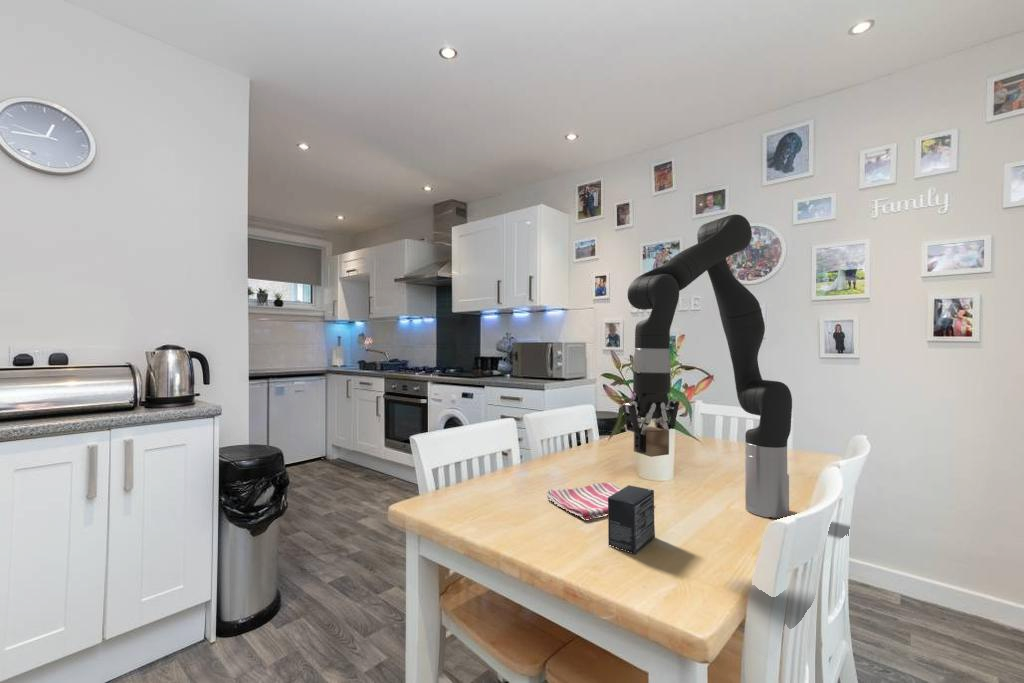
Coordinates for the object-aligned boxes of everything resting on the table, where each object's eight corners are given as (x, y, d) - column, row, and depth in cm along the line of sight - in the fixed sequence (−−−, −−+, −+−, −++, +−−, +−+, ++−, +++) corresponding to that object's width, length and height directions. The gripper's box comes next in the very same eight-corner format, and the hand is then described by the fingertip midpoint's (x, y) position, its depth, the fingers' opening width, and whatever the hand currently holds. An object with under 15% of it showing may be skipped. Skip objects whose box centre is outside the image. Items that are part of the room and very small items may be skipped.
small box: (627, 529, 101) (627, 483, 101) (655, 537, 97) (655, 489, 97) (606, 546, 92) (606, 496, 93) (635, 555, 88) (635, 503, 88)
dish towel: (544, 501, 120) (544, 489, 120) (610, 488, 131) (610, 476, 131) (583, 524, 105) (583, 509, 105) (654, 507, 116) (654, 494, 116)
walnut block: (651, 449, 96) (651, 426, 96) (668, 454, 92) (669, 430, 92) (633, 451, 94) (634, 427, 94) (650, 456, 89) (651, 432, 89)
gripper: (663, 368, 99) (662, 444, 99) (613, 369, 93) (612, 450, 93) (690, 370, 93) (689, 451, 93) (638, 371, 86) (637, 458, 86)
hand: (650, 450), depth 93 cm, fingers closed on walnut block, 5 cm apart
